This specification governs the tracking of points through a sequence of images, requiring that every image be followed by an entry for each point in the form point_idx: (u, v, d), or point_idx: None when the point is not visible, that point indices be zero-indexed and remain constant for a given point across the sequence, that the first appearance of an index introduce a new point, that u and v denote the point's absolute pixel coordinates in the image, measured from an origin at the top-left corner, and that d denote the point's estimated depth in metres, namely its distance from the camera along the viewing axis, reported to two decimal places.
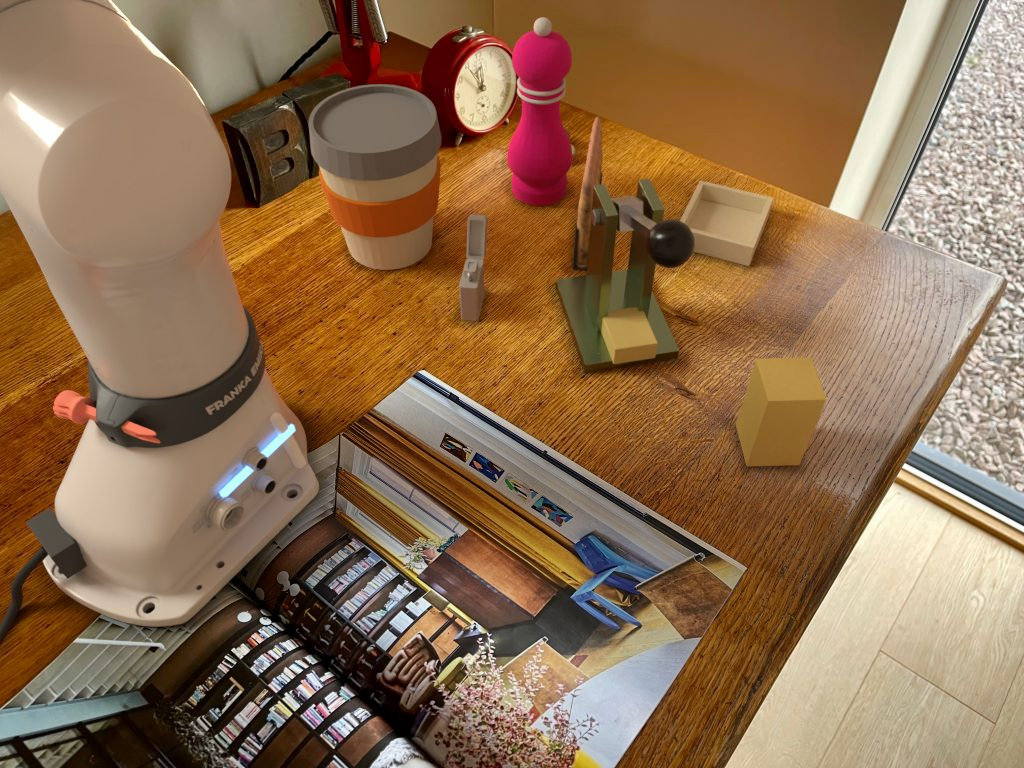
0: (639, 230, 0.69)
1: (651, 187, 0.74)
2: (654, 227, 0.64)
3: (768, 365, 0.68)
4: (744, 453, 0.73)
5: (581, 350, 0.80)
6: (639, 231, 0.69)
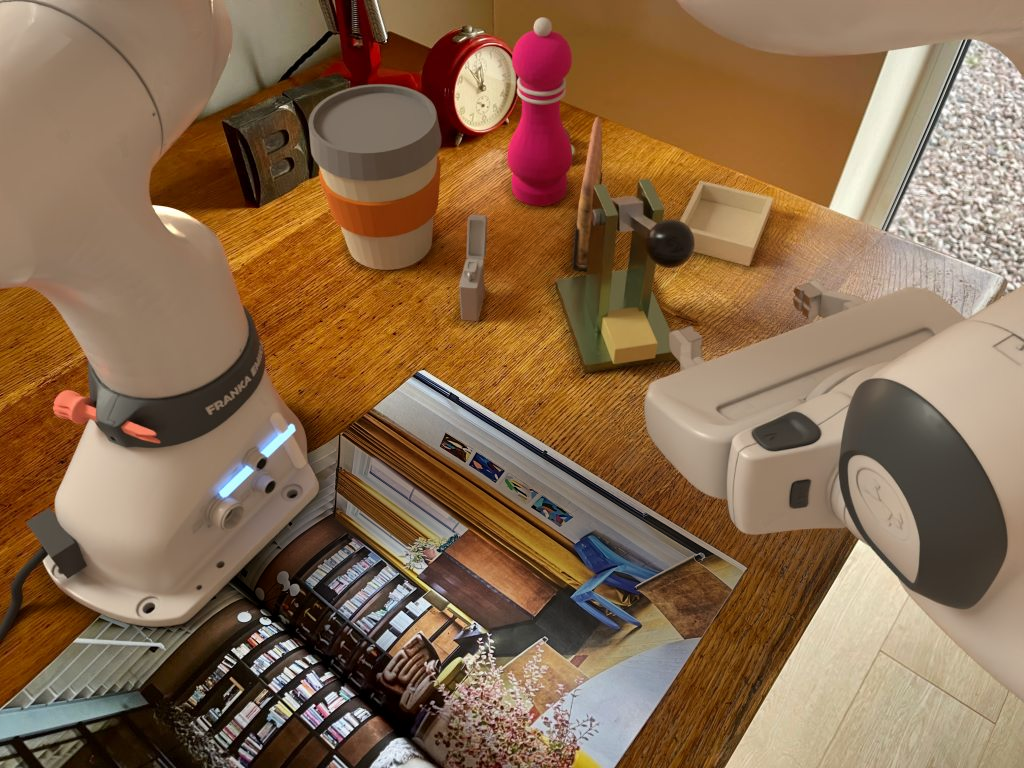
0: (639, 230, 0.69)
1: (651, 187, 0.74)
2: (654, 227, 0.64)
3: None
4: None
5: (581, 350, 0.80)
6: (639, 231, 0.69)
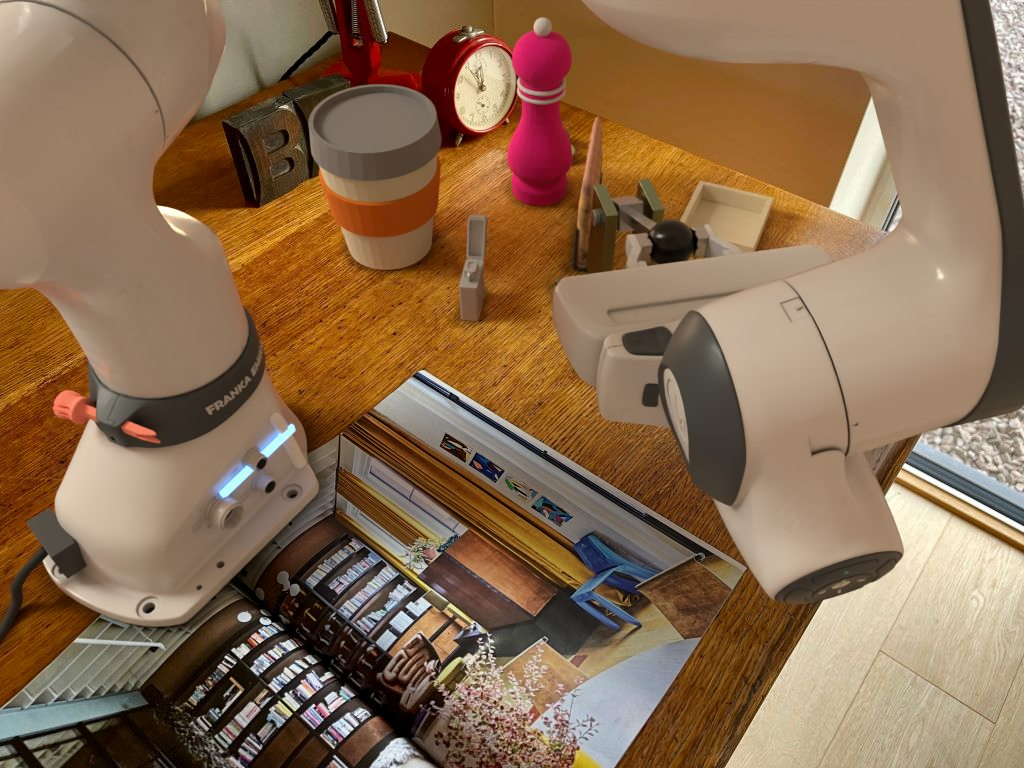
0: (639, 230, 0.69)
1: (651, 187, 0.74)
2: (654, 227, 0.64)
3: None
4: None
5: None
6: (639, 231, 0.69)
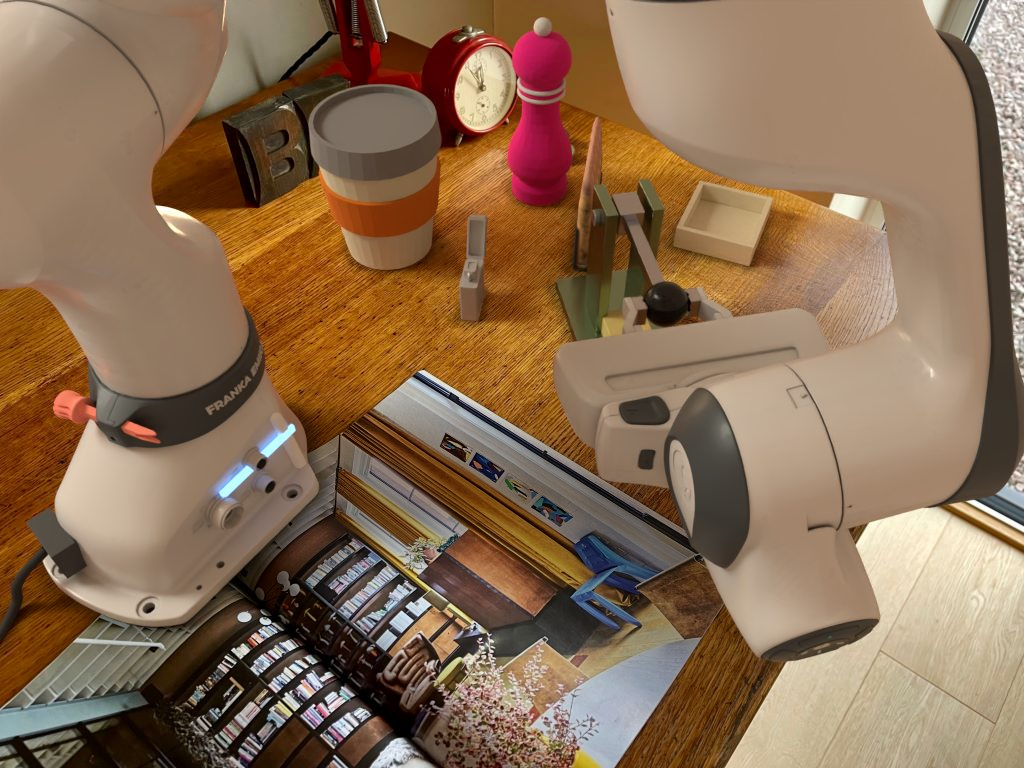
0: (637, 257, 0.71)
1: (651, 187, 0.74)
2: (653, 293, 0.66)
3: None
4: None
5: None
6: (637, 258, 0.71)
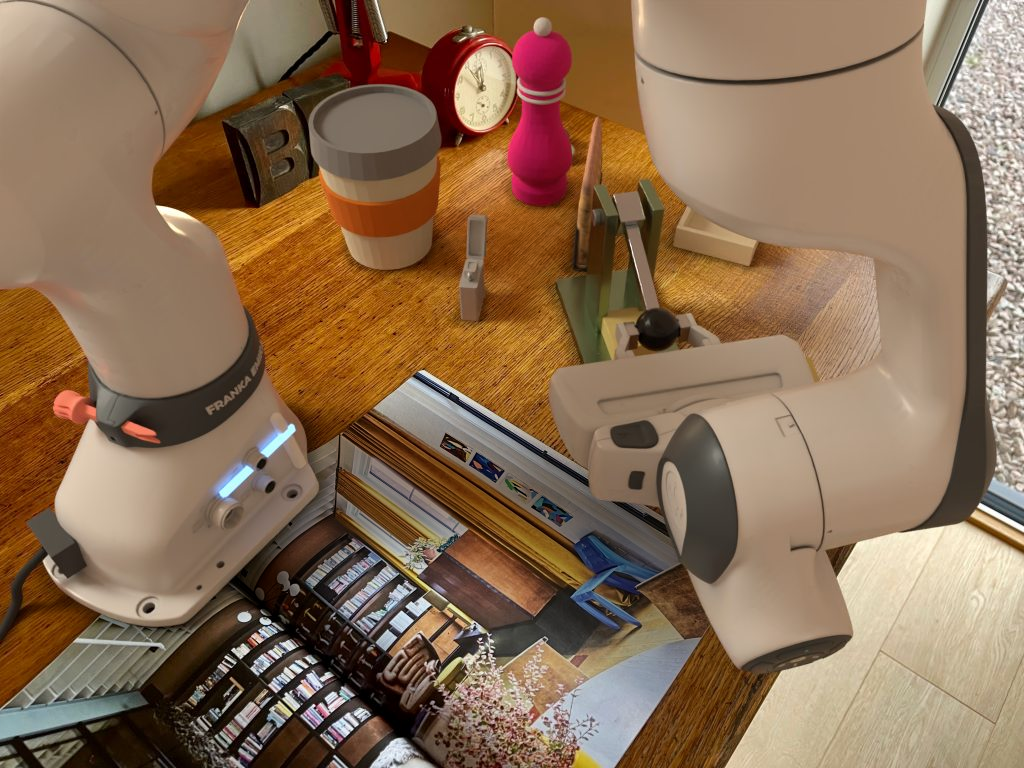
0: (634, 269, 0.73)
1: (651, 187, 0.74)
2: (646, 323, 0.69)
3: None
4: None
5: (581, 350, 0.80)
6: (633, 270, 0.73)
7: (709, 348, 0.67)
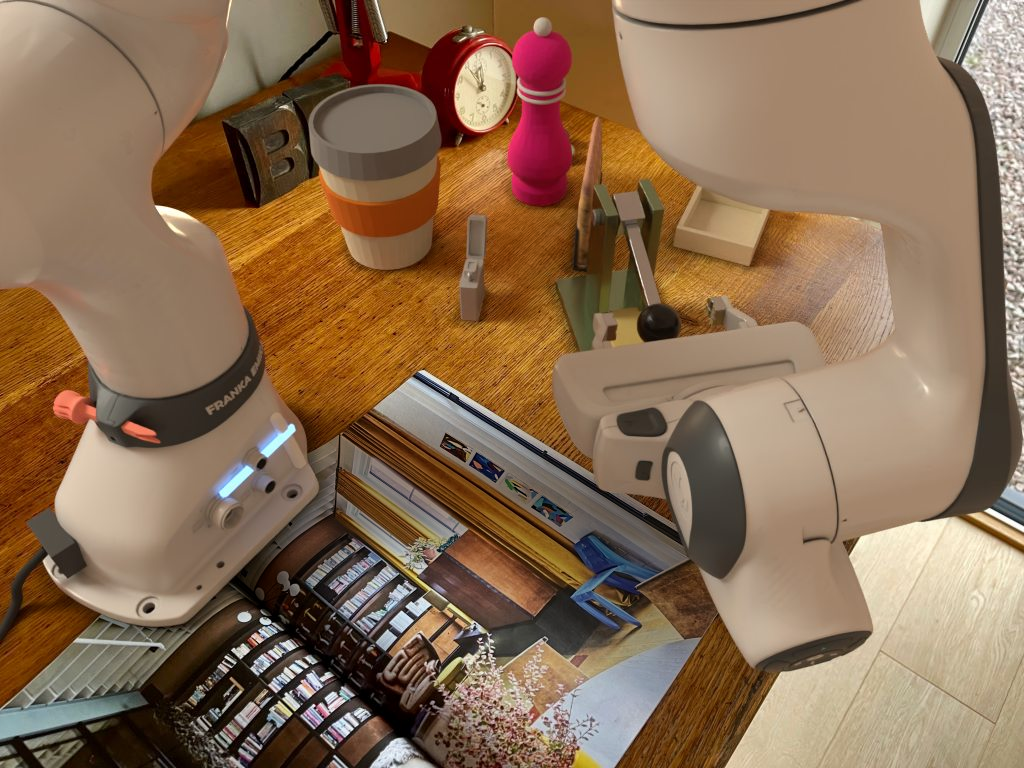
0: (634, 267, 0.72)
1: (651, 187, 0.74)
2: (648, 318, 0.69)
3: None
4: None
5: (581, 350, 0.80)
6: (634, 268, 0.72)
7: (719, 335, 0.65)
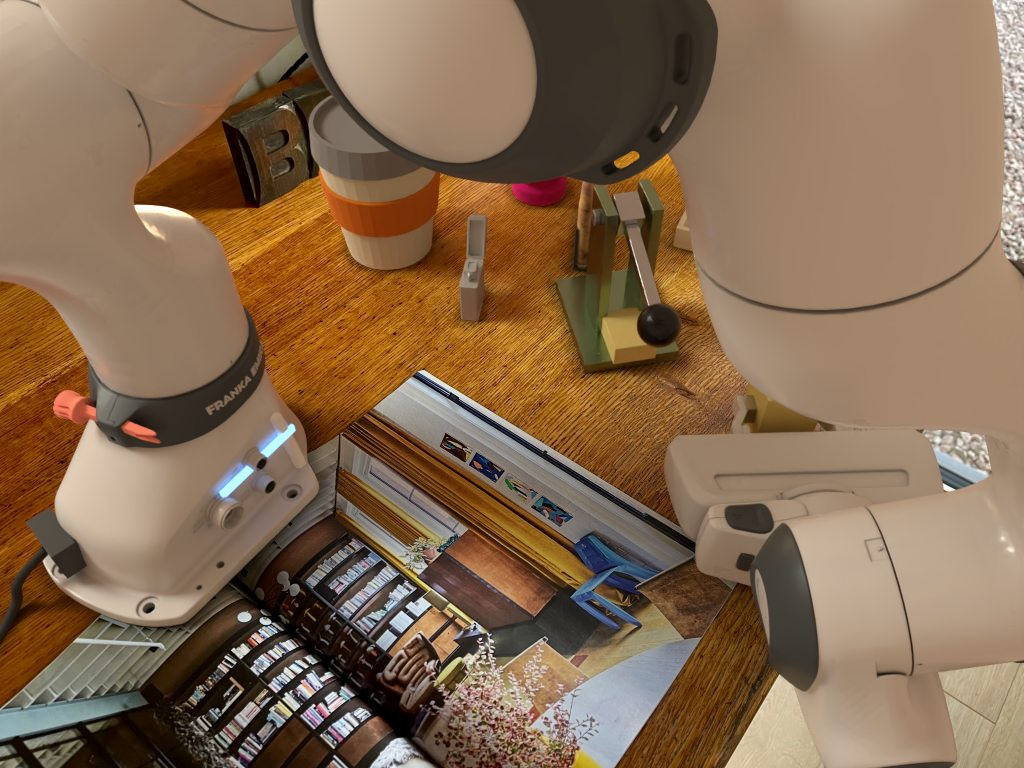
0: (634, 267, 0.72)
1: (651, 187, 0.74)
2: (648, 318, 0.69)
3: None
4: None
5: (581, 350, 0.80)
6: (634, 268, 0.72)
7: (835, 434, 0.66)
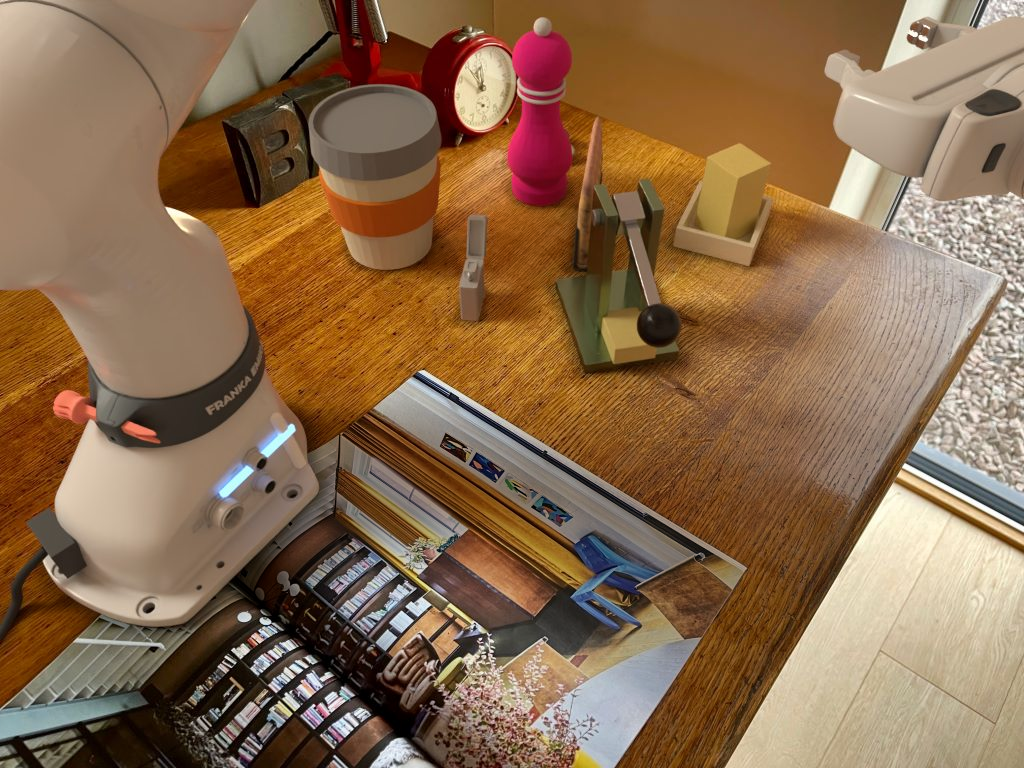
0: (634, 267, 0.72)
1: (651, 187, 0.74)
2: (648, 318, 0.69)
3: (719, 157, 0.87)
4: None
5: (581, 350, 0.80)
6: (634, 268, 0.72)
7: (963, 38, 0.64)
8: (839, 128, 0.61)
